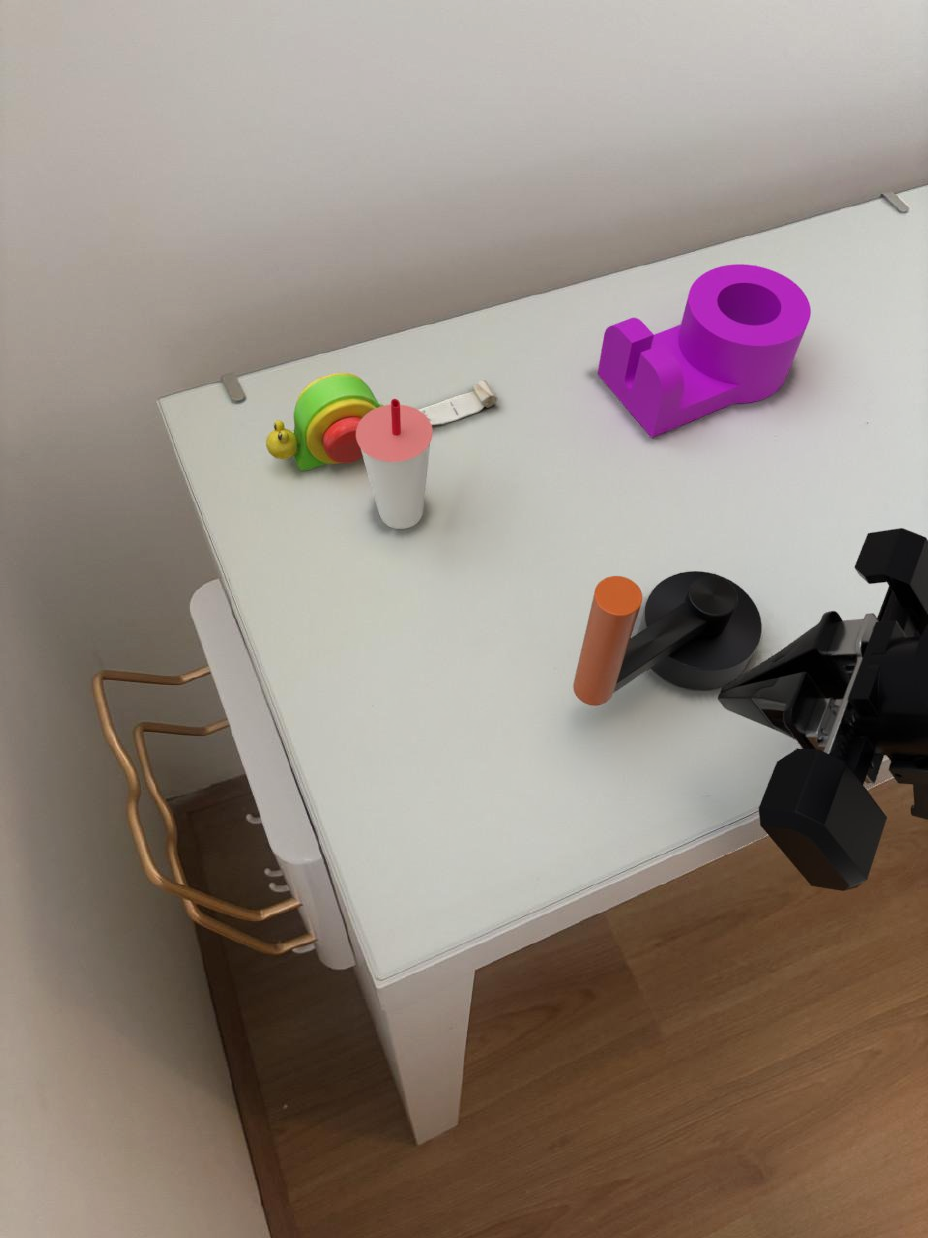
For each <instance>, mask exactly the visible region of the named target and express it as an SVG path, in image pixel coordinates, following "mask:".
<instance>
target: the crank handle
mask: <svg viewBox="0 0 928 1238" xmlns="http://www.w3.org/2000/svg"><path fill="white" fill-rule="evenodd" d="M737 600H738V598H737V593H736V590H735V589H734V587H733V586H732V585H731V584H730V583H729V582H728V581H726V580H725V579H723V578H720V577H717V576H703V577H700V578H698V579H696V580H695V581H694V582H693V583H692V584H691V586H690V588H689V591H688V593H687V596H686V598H685V601H684V603H683V604H681V605H680V606H678V607H677V608H675V609H674V610H672V611H671V612H669V613H668V614H666V615H665V616H663V617H662V618H660V619H659V620H657V621H656V622H654V623H653V624H651V625H650V626H648V627H647V628H645V629H644V630H642V631H641V632H639V633H638V632H637V633H635V635H633V631H634V628H635V626H636V622H637V620H638V616H639V612H640V609H641V606H642V604H643V593H642V590H641V588H640V586H638V584H637V583H636V582H635V581H633V580H632V579H630V578H628V577H625V576H621V575H611V576H608V577H605V578H604V579H601V580H600V581H599V582H598V583H597V585H596V587H595V588H594V592H593V597H592V600H591V604H590V605H591V606H590V610H589V614H588V618H587V623H586V627H585V631H584V636H583V640H582V645H581V649H580V652H579V653H580V654H579V657H578V662H577V667H576V671H575V674H574V675H575V676H574V680H573V685H572V689H573V692H574V695H575V696H576V698H577V699H578V700H579V701H580V702H582V703H583V704H584V705H587V706H591V707H598V706H602V705H604V704H606V703H608V702H609V701H610V700H611V699H612V697H613V696H614V694H615V693H616V692H618V691H619V690H621V689H622V688H623V687H625V686H627V685H628V684H629V683H631V682H633V680H636V678H638V677H639V676H641V675H643V674H644V673H645V672H647V671H648V670H650V669H651V667H652V666H654V665H655V664H657V663H658V662H660V661H661V660H663V659H664V658H665V657H667V656H668V655H670V654H671V653H673V652H674V651H676V650H677V649H679V648H680V647H681V646H683V645H684V644H686V643H687V642H689V641H690V640H692V639H693V638H695V637H696V636H697V635H701V636H714V635H717V634H719V633H720V632H722V631H723V630H724V629H725V627H726V626H727V623H728V621H729V619H730V617H731V615H732V613H733V611H734V609H735V607H736V605H737ZM632 635H633V636H632Z"/></svg>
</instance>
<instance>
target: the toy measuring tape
mask: <svg viewBox="0 0 928 1238" xmlns="http://www.w3.org/2000/svg"><path fill="white" fill-rule="evenodd" d="M496 402H497V396H496V394H495V393H494V391H493V389H492V387H491V386H490V384H489V382H488V381H487V380H486V379H480V380H478V381H477V382H476V383H474V384H473V385H472V390H471V391H469V392H466V393H462V394H458V395H456V396H452V397H450V398H447V399H445V400H441V401H440V402H437V403H435V404H432V405H427V406H425V407H422V408H419V409H418V410H419V411H420V412H422V413H423V414H424V415H425V416H426V417H427V418H428V419H429V421H430V423H431V425H432V426H436V425H437V426H438V425H446V424H448V423H453V422H455V421H459V420H461V419H463V418H465V417H468V416H471V415H474V414H477V413H479V412H481V411H482V410H483V409H484V408H487V409H489V408H491V407H492V406H493V405H494V404H496ZM382 406H385V405H384V404H381V403H379V401H378V400H377V398H376V396H375V394H374V392H373V391H372V389H371V387H370V386H369V385H368V384H367V382H365V381H364V380H363V379H362V378H361V377H360V376H358V375H355V374H353V373H348V372H336V373H331V374H327V375H324V376H321V377H318V378H317V379H314V380H313V381H312V382H310V383H309V384H308V385H306V387H304V388H303V390H302V391H301V392H300V393H299V395H298V397H297V400H296V402H295V406H294V410H293V431H291V430H290V429H288V428H285V422H284V421H282V420H280V419H278V420H277V419H276V420H275V421H274V423H273V430H271V431H270V432H269V433H268V435H267V437H266V439H265V447H266V450H267V452H268V453H269V455H271V456H272V457H273V458H275V459H278V460H288V459H290V458H292V457H293V459H294V461H295V463H296V466H297V468H298V469H299V471H301V472H304V471H309V470H311V469H316V468H318V467H321V466H324V465H327V464H332V465H334V464H337V465H338V464H350V463H355V462H358V461H359V460H361V459H364V458H363V455H362V451H361V448H360V446H359V445H358V443H357V440H356V429H357V426H358V424H359V422H360V420H361V419H362V418H363V417H364V416H365V415H366V414H367V413H369V412H370V411H372V410H374V409H376V408H379V407H382Z"/></svg>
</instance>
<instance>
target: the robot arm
mask: <svg viewBox="0 0 928 1238" xmlns="http://www.w3.org/2000/svg"><path fill="white" fill-rule="evenodd" d="M857 557H858V558H857V559H856V562H855V565H854V569H855V571H856V572H857V574H858V576H860V577H861V578H862V579H863V580H864V581H865V582H866V583H867V584H868V585H874V584H875V585H876V584H884V583H886V584H887V585H888V587H887V590H886V593H885V596H884V598H883V601H882V604H881V606H880V608H879V612H878V615H876V614H875V613H874V612H870V613H866V614H865V615H864V618H857V619H845V620H843V619H842V617H841V616H840V614H839V612H837V611H836V610H830V611H827V612H825V613H823V614H822V616H821V618H820V620H819V621H818V622H817V623H816V624H815V625H813V626H812V627H810V629H808V630H807V631H805V632H804V633H803V634H801V635H800V636H799V637H797V638H795V639H794V640H793V641H792V642H790V643H789V644H787V645H786V646H785V647H783V648H781V650H779V651H778V652H776V653H775V654H772V655H771V656H770V657H768V658H767V659H765V660H764V661H762V662H761V663H759V664H757V665H756V666H754V667H753V668H751V669H749V670H748V671H746V672H744V673H743V674H740V675H739V676H738V677H737V678H736V679H735V680H733V681H732V682H730V683H728V684H727V685H725V686H722V687H721V689H720V692H719V694H718V697H717V701H718V702H719V703H720V704H721V706H722V707H723V708H724V709H726V710H727V711H729V712H731V713H734V714H736V715H738V716H741V717H743V718H746V719H747V720H750V721H753V722H755V723H757V724H759V725H762V726H764V727H767V728H769V729H772V730H774V731H776V732H779V733H781V734H782V735H783V734H784V735H785V736H787V737H789V738H791V739H793V740H795V741H796V743H798V744H799V746H800V748H796V749H794V750H792V751H791V752H790V753H788V754H787V755H785V756H782V758H780V759H779V760H777V761H776V763H775V766H774V768H773V770H772V773H771V775H770V777H769V781H768V783H767V785H766V788H765V790H764V793H763V796H762V798H761V801H760V803H759V806H758V817H759V825H760V827H761V828H762V829H763V831H764V832H765V833H766V834H767V835H768V836H769V838H770V839H771V840H772V841H773V842H774V844H775V845H776V846H777V847H778V848H779V849H780V851H781V852H782V853H783V854H784V855H785V857H786V858H787V859H788V860H789V861H790V862H791V864H792V865H793V866H794V867H795V868H796V870H797V871H798V872H799V874H800V875H801V876H802V877H803V878H804V879H805V880H806V882H807V883H808V884H809V885H810V886H811V887H816V888H821V889H822V888H823V889H828V890H834V891H841V892H845V891H848V890H853V889H856V888H858V887H860V886H861V885H862V884H864V883H865V882H866V881H868V879H869V876H870V873H871V869H872V866H873V863H874V860H875V857H876V854H877V851H878V848H879V844H880V842H881V838H882V835H883V831H884V829H885V826H886V823H887V819H888V817H887V815H886V814H885V812H884V811H883V810H882V808H881V807H880V805H879V804H878V803H877V801H876V800H875V799H874V798H873V796H872V795H871V794H870V792H869V790H868V789H867V788H866V786H865V783H866V784H875V782H876V781H877V778H878V775H879V773H880V772H879V771H880V769H881V765H882V763H883V760H884V757H885V756H886V757H887V758H888V759H889V761H890V763H889V766H888V771H889V773H890V774H891V775H892V777H893V778H894V780H895V781H896V783H897V784H900V785H912V792H913V793H912V794H913V804H911V806H910V808H909V809H910V815H911V816H912V817H915V818H919V819H924V820H926V821H928V538H927V537H926V536H924V535H922V534H919V533H917V532H914V531H912V530H909V529H906V528H905V527H899V528H892V529H886V530H880V531H872V532H868V533H867V534H866V537H865V539H864V542H863V544H862V546H861V550H860V552H859V554H858V556H857Z"/></svg>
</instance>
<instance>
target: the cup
mask: <svg viewBox="0 0 928 1238" xmlns="http://www.w3.org/2000/svg"><path fill="white" fill-rule="evenodd" d="M433 434H434V431H433V425H431V423H430V421H429V419H428V418H427V417H426V416H425V415H424V414H423V413H422V412H420V411H419V409H417V408H415V407H412V406H410V405H405V404H401V402H400V401H399V399H397V398H392V399H391V401H390V404H386V405H384V406H382V407H379V408H376V409H374V410H372V411H370V412H369V413H367V414H366V415H365V416H364V417H363V418H362V419H361V420H360V422H359V424H358V426H357V429H356V440H357V443H358V445H359V446H360V448H361V451H362V455H363V458H362V459H363V462H364V465H365V469H366V472H367V476H368V481H369V483H370V487H371V490H372V494H373V498H374V501H375V504H376V508H377V511H378V514H379V517H380V520H381V521H382V522H383V524H384V525H386V526H387V527H389V528H392V529H396V530H405V529H409V528H412V527H414V526H415V525H417V524H419V522H420V521H421V519H422V518H423V515H424V509H425V508H424V507H425V499H426V492H427V491H426V490H427V479H428V469H429V460H430V459H429V458H430V447H431V442H432V439H433V436H434V435H433Z"/></svg>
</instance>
